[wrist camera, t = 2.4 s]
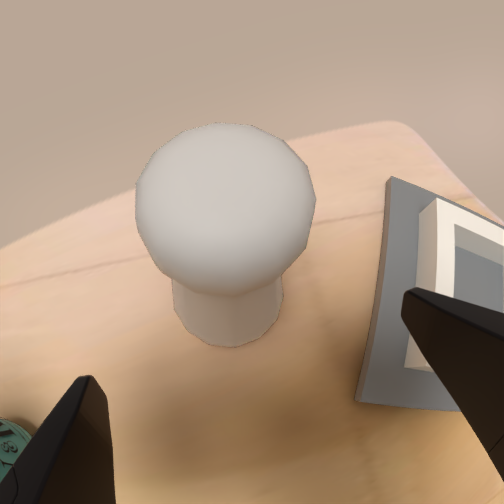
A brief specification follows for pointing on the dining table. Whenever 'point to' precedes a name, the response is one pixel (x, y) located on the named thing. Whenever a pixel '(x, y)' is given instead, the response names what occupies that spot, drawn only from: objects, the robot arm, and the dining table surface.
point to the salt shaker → (225, 226)
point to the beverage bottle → (11, 444)
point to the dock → (426, 277)
